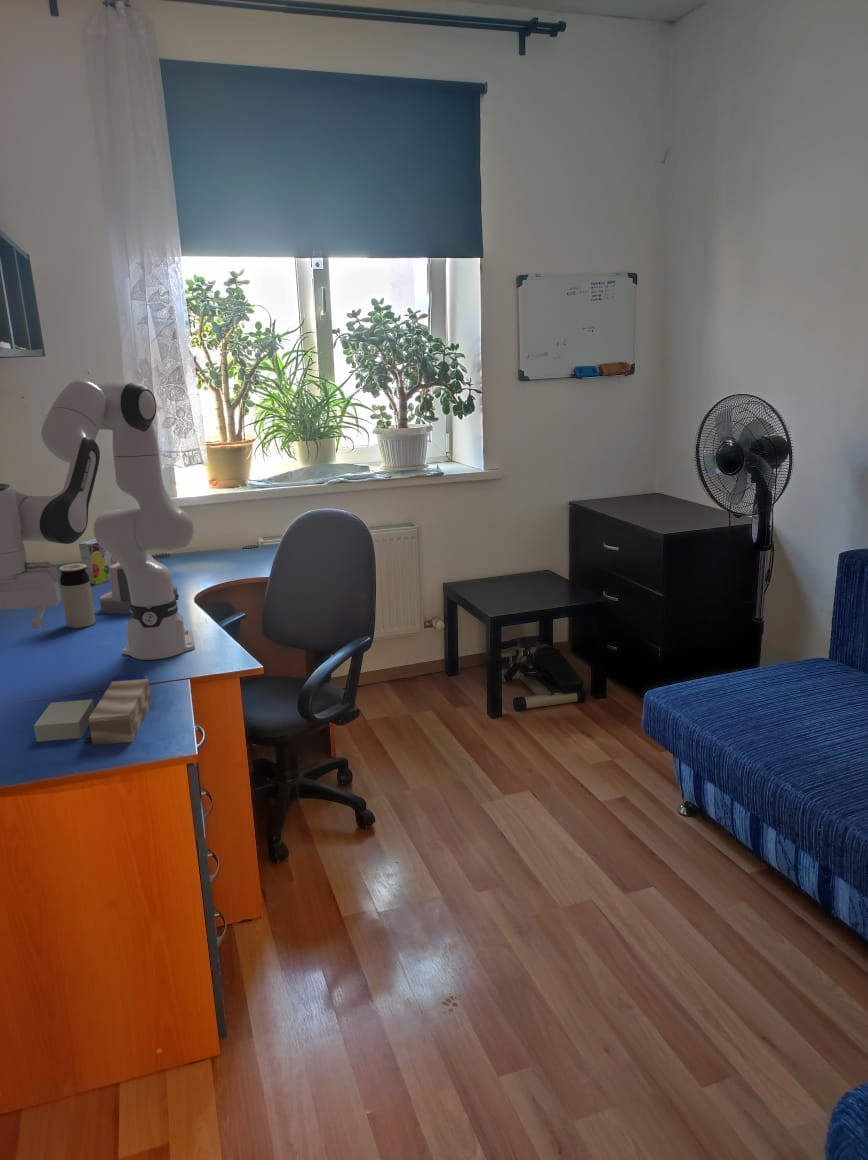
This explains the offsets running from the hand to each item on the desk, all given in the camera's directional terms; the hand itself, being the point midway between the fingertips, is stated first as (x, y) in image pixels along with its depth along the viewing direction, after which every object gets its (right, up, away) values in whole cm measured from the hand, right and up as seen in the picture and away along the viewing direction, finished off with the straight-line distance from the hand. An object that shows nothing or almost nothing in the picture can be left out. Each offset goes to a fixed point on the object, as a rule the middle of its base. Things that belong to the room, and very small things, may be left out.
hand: (13, 629), depth 177 cm
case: (+8, -22, +7) cm, 25 cm away
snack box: (-29, +11, +130) cm, 134 cm away
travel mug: (-18, -3, +77) cm, 79 cm away
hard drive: (+14, -17, +28) cm, 35 cm away
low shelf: (+19, -21, +8) cm, 29 cm away
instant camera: (-6, +2, +96) cm, 96 cm away
